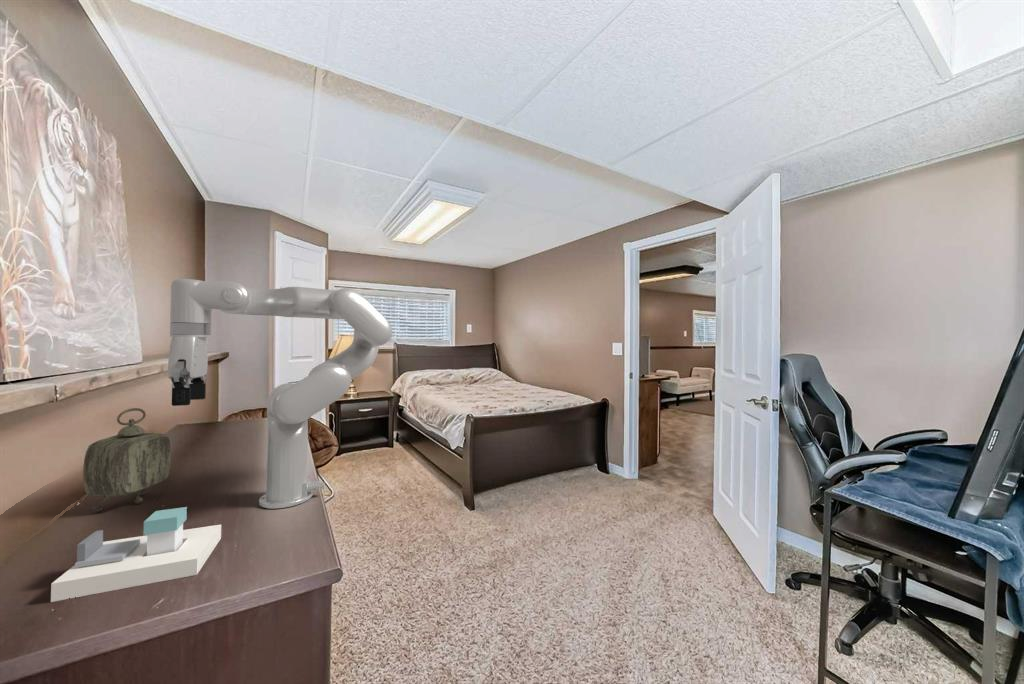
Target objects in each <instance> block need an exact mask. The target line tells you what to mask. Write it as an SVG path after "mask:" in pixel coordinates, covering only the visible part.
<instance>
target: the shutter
mask: <svg viewBox="0 0 1024 684" xmlns="http://www.w3.org/2000/svg"><path fill="white" fill-rule="evenodd" d="M103 542H104V530H103V529H100V530H95V531H94V532H92V533H91V534H89V535H88V536H87V537H86V538H84V539H83V540H82V541H80V542H79V543H77V546H76V562H75V563H74V565H75V568H78V567H84V566H90V565H96V564H103V563H109V562H115V561H121V560H123V559H124V558H125V557H126V556H127V555H128V554H130V553H131V552H132V551H133V550H134V549H135V548H136V547H137V546H138V545H139V544H140V539H138V540H132V541H125V542H118V543H112V544H105V545H103Z"/></svg>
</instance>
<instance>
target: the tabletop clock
mask: <svg viewBox="0 0 1024 684" xmlns="http://www.w3.org/2000/svg"><path fill="white" fill-rule="evenodd" d="M134 411H135V412H136V411H138V412H140V413H142V417H141V418H140V419H138V420H136V421H135V419H134V418H131V419H129V420H128V422H123V421H120V418H121V417H122V416H123V415H124V414H126V413H129V412H134ZM145 418H146V412H145V410H143V408H139V407H135V408H133V407H132V408H128V409H125V410H124V411H122V412H120V414H118V415H117V418H116V422H117V424H119V425H121V426H124V427H122V428H121V429H120V430H119V431H118V433H117V434H115V435H112V436H110V437H105V438H101V439H100V440H96V441H95V442H93V443H90V444H89V445H88V447H87V449H86V451H85V455H84V461H83V469H82V477H83V478H82V479H83V481H82V482H83V487H84V490H85V493H86V495H87V496H92V497H93V496H95V497H96V496H98V497H99V496H101V497H102V496H103V497H104V498H103V499H102V500H101V502H100V504H98V505H95V506H94V507H93V509H92V510H93V513H99V512H101V511H102V510H103V506H104V504H106V502H108V500H110V498H112V497H125V496H129V495H132V494H134V495H135V497H136V498H135V499H134V501H133V502H134V505H135V504H136V505H139V504H142V502H143V501H144V499H143V497H141V496H143V495H145V494H146V493H147V490H148V489H149V488H150V487H153V486H155V485H157V484H160V483H161V482H163V481H165V480H166V479H167V478H168V477H169V475H170V470H171V460H172V453H171V451H172V449H171V446H172V445H171V440H170V438H169V436H167V435H166V434H164V433H153V432H151V433H150V432H149V433H148V432H147V433H146V431H145V430H144V428H143V427H142V426H141V425H136V424H139V423H140V422H142V421H143V420H144V419H145Z"/></svg>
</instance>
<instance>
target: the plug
mask: <svg viewBox="0 0 1024 684" xmlns="http://www.w3.org/2000/svg"><path fill="white" fill-rule="evenodd" d="M187 509H188V506H185V507H175V508H168V509H162V510H161V509H160V510H155V511H154V512H153V513H152V514H151V515H150V516H148V518H146V519H145V520H144V521H143V535H142V536H146V535H147V556H150V555H156V554H163V553H169V552H175V551H177V550H178V549H179V548H180V547H181V546H182V544H183V530H184V523H185V522H186V521H187V520H188V519H187V517H188V515H187V513H188V512H187Z"/></svg>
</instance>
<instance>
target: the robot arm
mask: <svg viewBox="0 0 1024 684" xmlns="http://www.w3.org/2000/svg"><path fill="white" fill-rule="evenodd" d="M169 307H170V308H169V309H170V311H169V312H170V314H169V315H170V316H169V337H171V339H170V344H169V351H168V352H169V353H168V362H167V373H166V374H167V375H166V376H167V378H168V379H170V381H171V382H172V383H171V406H174V407H178V406H189V405H191V401H193V400H194V401H198V400H205V399H206V389H207V388H206V386H207V385H206V384H207V379H206V376H207V374H208V367H209V365H208V363H209V362H208V361H209V359H208V357H209V354H208V341H207V338H212V310H218V311H219V310H220V311H221V312H223V313H225V314H229V315H230V314H231V315H243V316H244V315H249V316H251V315H252V316H266V317H267V316H270V317H271V316H272V317H284V318H301V319H303V318H306V319H326V320H344V321H345V322H346V323H347V324H348V325H349V326H350V327H351V328H353V340H352V342H351V344H350V345H349V346H348V347H347V348H345V349H344V350H342V351H341V352H339V353H338V354H336V355H334V356H333V357H331V358H329V359H327V360H325V361H324V362H321V363H319V364H318V365H316V366H314V367H312V369H311V370H310V371H309V373H308V375H307V376H305V377H304V378H302V379H300V380H299V381H297V382H295V383H289V382H287V383H283V384H280V385H278V386H276V387H274V388H273V389H272V391H270V393H269V395H268V397H267V401H266V417H267V420H266V421H267V435H266V436H267V441H266V443H267V444H266V448H267V449H266V481H265V482H266V483H265V484H266V486H265V487H266V490H265V491H266V492H265V494H263V495H261V496H260V498H259V500H258V505H259V506H260V507H262V508H264V509H272V510H273V509H274V510H275V509H284V508H289V507H294V506H298V505H300V504H303V503H305V502H307V501H309V500H310V499H312V497H313V495H314V491H322V490H325V483H326V482H325V481H324V482H321V480H315V481H311V480H310V477H309V476H308V441H309V423H308V422H309V421H308V419H309V418H311V417H313V416H314V415H316V414H318V413H319V412H321V411H322V410H324V409H326V408H327V407H328V406H330V405H331V404H333V403H334V402H336V401H338V400H339V399H341V398H342V397H343V396H344V395H345V394H346V393H347V392H348V390H349V389H350V387H351V384H352V380H354V379H355V378H357V377H358V376H360V375H361V374H362V373H364V372H365V371H366V370H367V369H369V368H370V367H371V366H372V365H373V364H374V362H375V360H376V358H377V356H378V353H379V350H380V349H379V348H380V346H382V345H383V346H384V345H385V344H387V343H388V342H389V341H390V340H391V339H392V335H393V327H392V325H391V323H390V322H389V321H388V319H387V318H386V317H385V316H384V315H382V313H381V312H380V311H378V310H377V309H376V308H375V307H374V305H372V303H370V302H369V301H368V300H367V299H366V298H365V297H364V296H363V295H361V294H360V293H359V292H358V291H357V290H355V289H353V288H349V287H347V288H346V287H345V288H344V287H343V288H340V289H328V288H327V289H324V288H313V287H302V286H287V287H286V286H285V287H281V288H253V287H245V286H244V285H243V284H241V283H239V282H235V281H229V280H228V281H221V280H220V281H205V280H201V279H195V278H194V279H192V278H177V279H173V281H171V285H170V306H169ZM319 487H320V489H319Z"/></svg>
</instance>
